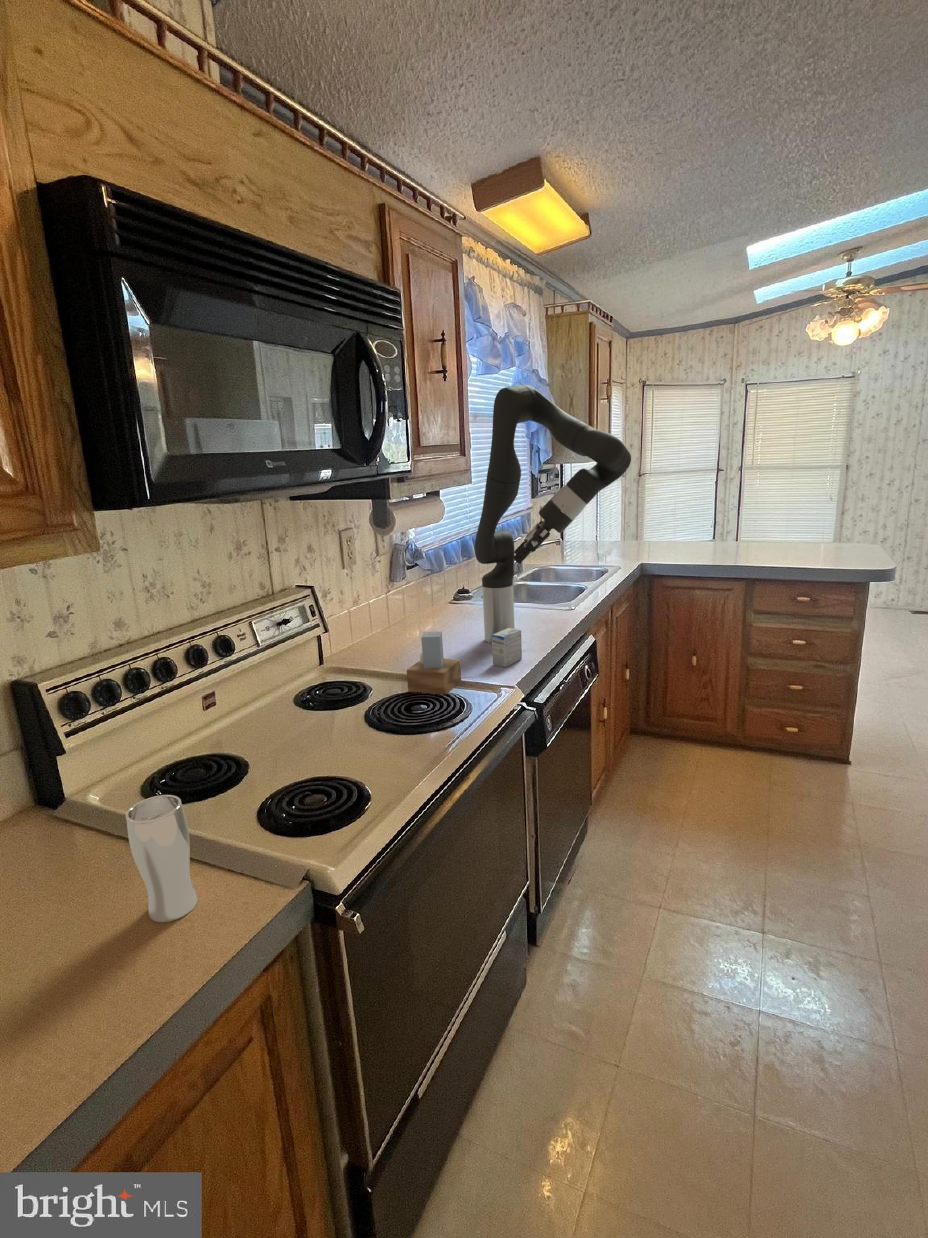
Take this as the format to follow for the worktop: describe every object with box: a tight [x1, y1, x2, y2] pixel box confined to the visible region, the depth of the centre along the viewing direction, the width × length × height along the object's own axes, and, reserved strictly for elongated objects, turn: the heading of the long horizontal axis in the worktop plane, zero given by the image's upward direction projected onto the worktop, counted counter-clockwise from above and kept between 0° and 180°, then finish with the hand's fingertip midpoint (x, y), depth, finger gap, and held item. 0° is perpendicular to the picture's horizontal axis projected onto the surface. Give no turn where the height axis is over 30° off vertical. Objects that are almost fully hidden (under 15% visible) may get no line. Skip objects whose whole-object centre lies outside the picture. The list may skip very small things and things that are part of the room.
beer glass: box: [125, 794, 198, 923], centre depth 85 cm, size 7×7×15 cm
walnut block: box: [406, 658, 462, 695], centre depth 162 cm, size 10×10×6 cm
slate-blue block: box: [420, 631, 445, 668], centre depth 160 cm, size 4×4×8 cm
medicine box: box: [491, 628, 523, 668], centre depth 177 cm, size 8×4×9 cm, turn 141°
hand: (516, 557), depth 159 cm, fingers open, 8 cm apart
